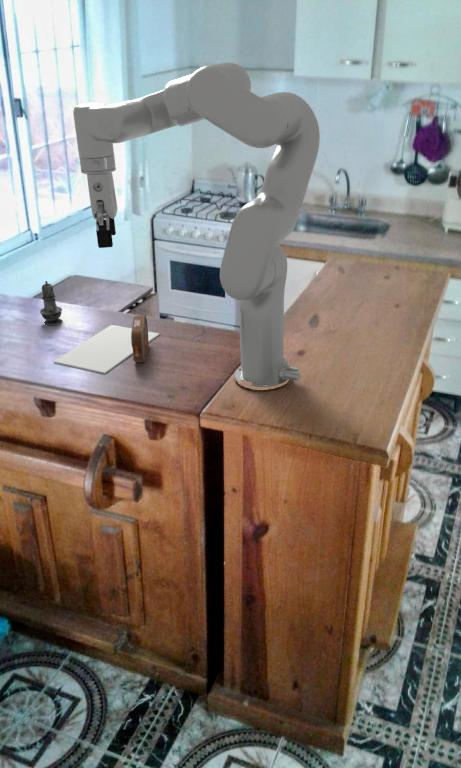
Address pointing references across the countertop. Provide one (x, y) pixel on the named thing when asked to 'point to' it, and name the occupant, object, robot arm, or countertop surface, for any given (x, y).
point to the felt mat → (102, 350)
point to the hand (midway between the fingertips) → (107, 241)
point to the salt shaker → (50, 307)
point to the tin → (139, 338)
